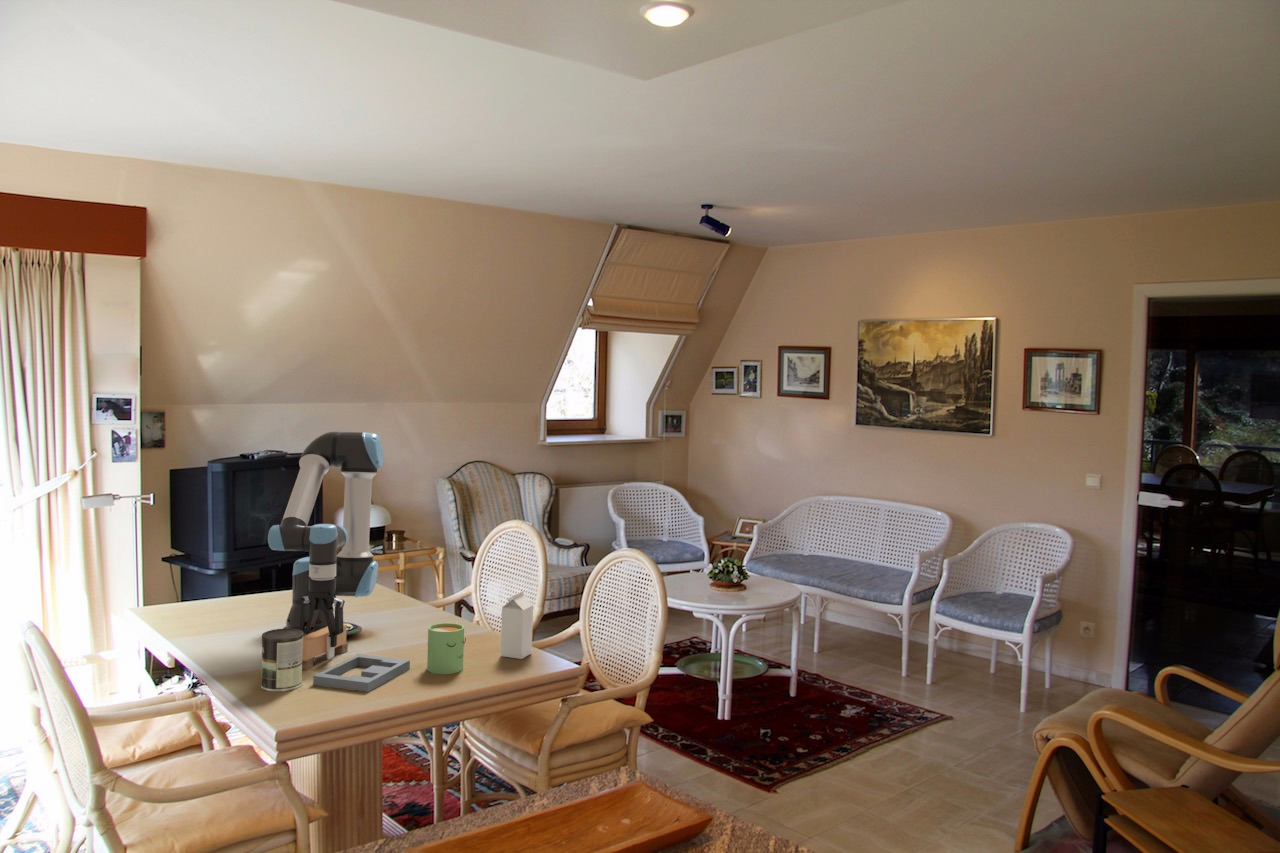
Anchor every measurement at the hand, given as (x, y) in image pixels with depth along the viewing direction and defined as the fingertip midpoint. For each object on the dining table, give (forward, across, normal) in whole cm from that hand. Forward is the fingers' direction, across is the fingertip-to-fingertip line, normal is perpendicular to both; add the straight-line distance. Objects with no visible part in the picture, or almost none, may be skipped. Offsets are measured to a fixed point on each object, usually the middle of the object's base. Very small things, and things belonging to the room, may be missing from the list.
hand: (320, 656), depth 272 cm
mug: (+1, +38, +6) cm, 38 cm away
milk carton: (+1, +51, +25) cm, 57 cm away
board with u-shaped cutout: (+1, +20, -10) cm, 22 cm away
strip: (+1, 0, 0) cm, 1 cm away
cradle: (+1, 0, 0) cm, 1 cm away
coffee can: (+1, +4, -24) cm, 25 cm away
